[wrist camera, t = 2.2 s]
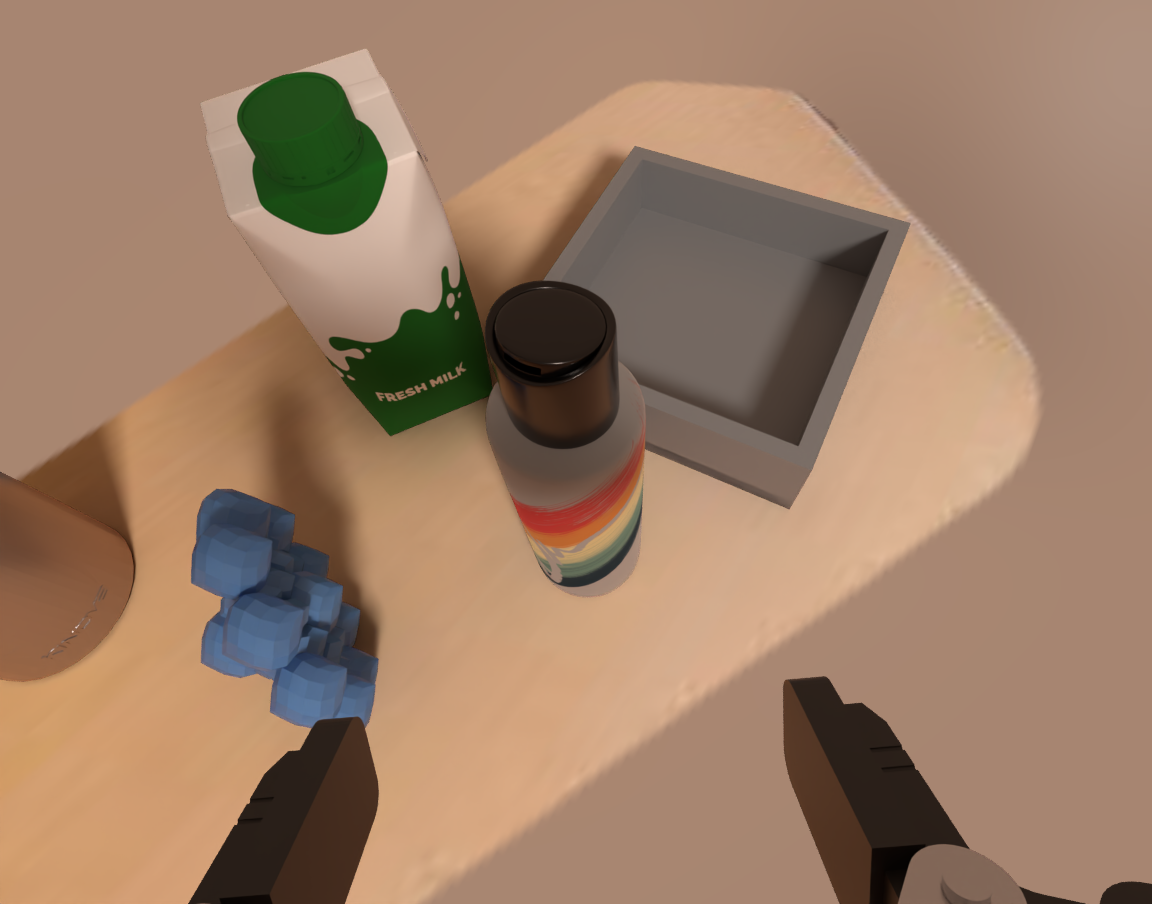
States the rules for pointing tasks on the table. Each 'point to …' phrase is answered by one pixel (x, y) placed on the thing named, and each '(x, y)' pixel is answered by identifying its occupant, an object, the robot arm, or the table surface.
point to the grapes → (278, 612)
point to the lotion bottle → (568, 433)
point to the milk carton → (353, 234)
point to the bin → (733, 311)
